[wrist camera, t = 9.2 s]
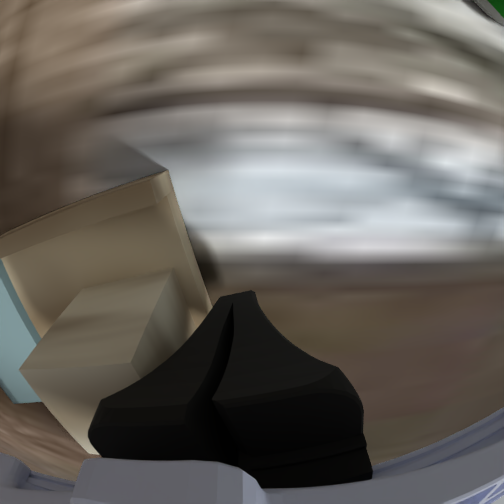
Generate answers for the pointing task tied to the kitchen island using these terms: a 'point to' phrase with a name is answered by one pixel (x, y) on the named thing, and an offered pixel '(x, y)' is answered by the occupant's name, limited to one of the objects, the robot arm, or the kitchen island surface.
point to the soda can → (493, 9)
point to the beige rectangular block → (107, 345)
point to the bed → (102, 248)
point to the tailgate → (15, 342)
